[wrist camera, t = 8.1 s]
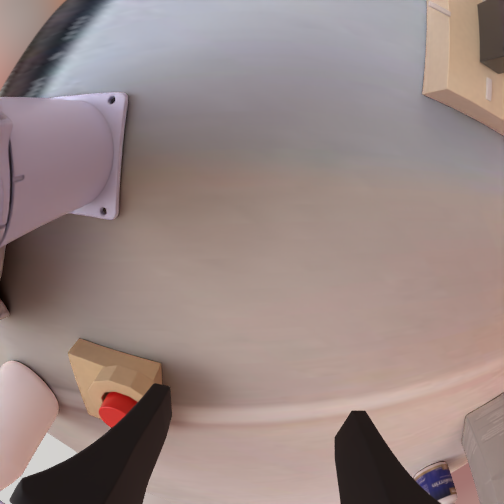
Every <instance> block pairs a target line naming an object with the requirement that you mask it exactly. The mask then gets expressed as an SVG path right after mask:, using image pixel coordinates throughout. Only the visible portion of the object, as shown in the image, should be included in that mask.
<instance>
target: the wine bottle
mask: <svg viewBox="0 0 504 504" xmlns="http://www.w3.org/2000/svg"><path fill="white" fill-rule="evenodd" d="M58 411H59V406H58V402H57V399H56V397H55V396H54V394H53V392H52V391H51V390H50V388H49V387H48V386H47V385H46V383H45V382H44V381H43V380H42V379H41V378H40V377H39V376H38V375H37V374H36V373H34V372H33V371H32V370H31V369H29V368H28V367H27V366H25V365H23V364H22V363H20V362H17V361H8V362H6V363H4V364H3V365H2V366H1V367H0V491H1V490H3V489H4V488H6V487H7V486H9V485H10V484H12V483H13V482H14V481H15V480H16V479H18V478H19V477H20V476H21V475H22V474H23V472H24V470H25V468H26V467H27V465H28V463H29V462H30V460H31V458H32V456H33V455H34V453H35V451H36V450H37V448H38V446H39V445H40V443H41V441H42V440H43V438H44V436H45V435H46V433H47V431H48V430H49V428H50V427H51V425H52V423H53V422H54V420H55V419H56V417H57V415H58Z"/></svg>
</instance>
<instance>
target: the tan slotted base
mask: <svg viewBox="0 0 504 504" xmlns="http://www.w3.org/2000/svg"><path fill="white" fill-rule="evenodd" d="M483 1H485V0H427V34H426V56H425V70H424V81H423V90H422V94H423V95H425V96H427V97H430V98H432V99H434V100H436V101H439V102H441V103H443V104H445V105H447V106H449V107H452V108H454V109H456V110H458V111H460V112H462V113H464V114H466V115H468V116H469V117H471V118H473V119H475V120H477V121H479V122H481V123H482V124H484V125H486V126H488V127H489V128H491V129H493V130H495V131H496V132H498V133H500V134H501V135H503V136H504V73H501V74H497V73H496V72H494V71H493V70H492V69H490V68H488V67H487V66H485V65H484V64H482V63H481V62H480V38H479V20H478V8H477V4H479V3H481V2H483Z"/></svg>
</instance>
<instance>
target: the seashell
mask: <svg viewBox="0 0 504 504" xmlns="http://www.w3.org/2000/svg"><path fill="white" fill-rule="evenodd" d="M5 248H6V245H4V246H2V247H1V248H0V279H1V274H2V269H3V261H4V256H5ZM8 316H9V312H8V310H7V308H6V306H5V305H4V303H3V302H2V301H1V299H0V320H1V319H4V318H6V317H8Z"/></svg>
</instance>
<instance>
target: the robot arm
mask: <svg viewBox="0 0 504 504" xmlns="http://www.w3.org/2000/svg"><path fill="white" fill-rule="evenodd" d="M113 97H115V102H114V103H113V104H112V103H111V100H112V98H113ZM127 106H128V96H127V94H126V93H122V92H110V93H93V94H80V95H70V96H61V97H53V98H30V97H0V248H1V247H2V246H4V245H6V244H8V243H10V242H11V241H13V240H15V239H17V238H19V237H21V236H23V235H24V234H26V233H28V232H30V231H32V230H34V229H36V228H38V227H40V226H42V225H44V224H46V223H48V222H50V221H52V220H54V219H56V218H58V217H61V216H63V215H65V214H67V213H71V214H77V215H83V216H90V217H96V218H102V219H108V220H113V219H114V218H116V217H117V216H118V214H119V192H120V174H121V160H122V148H123V138H124V129H125V121H126V113H127ZM103 207H104V208H105V209H106V211H107V213H106V214H105V213H104V212H103ZM171 417H172V411H171V394H170V387H169V386H165V385H161V384H157V383H154V384H152V386H151V387H150V388H149V390H148V391H147V392H146V393H145V394H144V396H143V397H142V398H141V399H140V400H139V401H138V402H137V404H136V405H135V406H134V407H133V408H132V409H131V410H130V411H129V412H128V413H127V414H126V415H125V416H124V417H123V418H122V419H121V420H120V421H119V422H118V423H117V424H116V425H115V426H113V427H112V428H111V429H110V430H109V431H108V432H107V433H105V434H104V435H103V436H102V437H101V438H99V439H98V440H97V441H95V442H94V443H93V444H91V445H90V446H88V447H87V448H85V449H84V450H82V451H81V452H79V453H78V454H76V455H74V456H73V457H71V458H69V459H67V460H66V461H64V462H62V463H59V464H57V465H55V466H53V467H51V468H49V469H47V470H44V471H42V472H39V473H36V474H33V475H30V476H28V477H24V478H22V480H21V481H20V482H19V484H18V485H17V487H16V488H15V490H14V492H13V494H12V496H11V498H10V502H11V503H12V504H142V503H143V499H144V495H145V492H146V488H147V485H148V482H149V479H150V476H151V474H152V471H153V469H154V466H155V464H156V461H157V459H158V456H159V454H160V452H161V449H162V447H163V444H164V442H165V439H166V436H167V432H168V429H169V425H170V421H171ZM335 463H336V471H337V478H338V485H339V493H340V501H341V504H441V503H440V502H439V501H437V500H436V499H435V498H433V497H432V496H431V495H430V494H429V493H428V492H426V491H425V490H424V489H423V488H422V487H421V486H420V485H419V484H418V483H417V482H416V481H415V480H414V479H413V478H412V477H411V476H410V475H409V473H408V472H407V471H406V470H405V469H404V467H403V466H402V465H401V464H400V462H399V461H398V460H397V458H396V457H395V456H394V454H393V453H392V451H391V450H390V448H389V447H388V445H387V444H386V443H385V441H384V440H383V438H382V436H381V435H380V433H379V432H378V430H377V429H376V427H375V425H374V424H373V422H372V421H371V419H370V418H369V416H368V414H367V413H366V411H351V413H350V414H349V416H348V418H347V419H346V421H345V422H344V424H343V425H342V427H341V429H340V430H339V432H338V433H337V435H336V436H335ZM0 504H5V503H3V502H2V501H0Z"/></svg>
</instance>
